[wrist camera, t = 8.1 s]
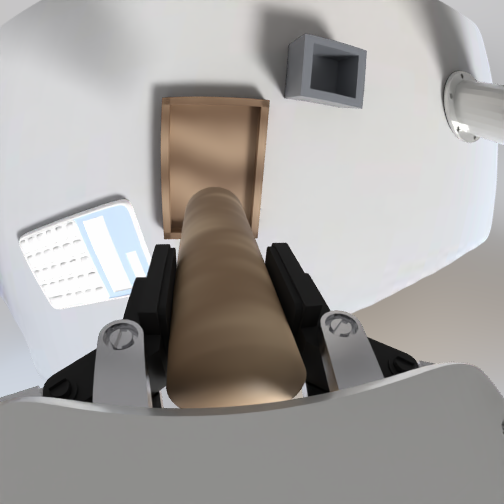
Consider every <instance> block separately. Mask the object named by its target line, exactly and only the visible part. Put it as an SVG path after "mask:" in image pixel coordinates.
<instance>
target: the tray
mask: <svg viewBox="0 0 504 504" xmlns="http://www.w3.org/2000/svg"><path fill="white" fill-rule="evenodd" d="M269 103H270V100H262V99H249V98H233V97H165V98H162V114H161V190H162V212H163V229H164V239H181V233H182V227H183V221H184V215H185V209H186V206H187V203H188V201H189V200H190V198H191V197H192V196H193V195H194V194H195V193H197V192H198V191H200V190H202V189H205V188H208V187H221V188H224V189H227V190H229V191H231V192H232V193H233V194H235V195H236V196H237V198H238V199H239V201H240V202H241V205H242V207H243V210H244V212H245V215H246V217H247V220H248V222H249V225H250V227H251V230H252V232H253V235H254V237H255V238H258V227H259V216H260V205H261V194H262V182H263V171H264V160H265V149H266V137H267V126H268V114H269Z"/></svg>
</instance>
